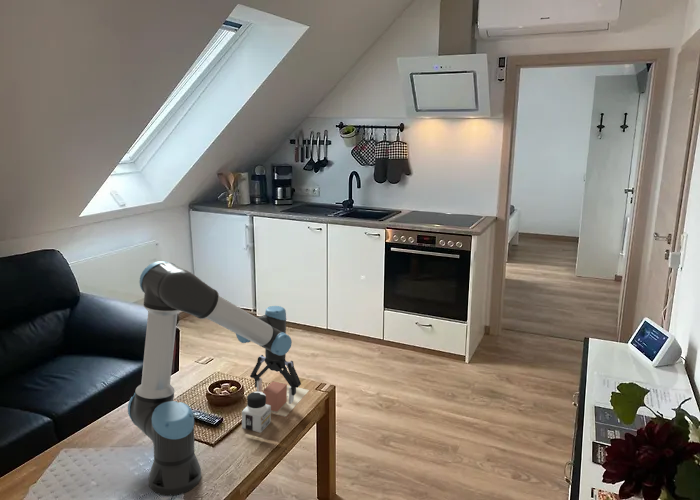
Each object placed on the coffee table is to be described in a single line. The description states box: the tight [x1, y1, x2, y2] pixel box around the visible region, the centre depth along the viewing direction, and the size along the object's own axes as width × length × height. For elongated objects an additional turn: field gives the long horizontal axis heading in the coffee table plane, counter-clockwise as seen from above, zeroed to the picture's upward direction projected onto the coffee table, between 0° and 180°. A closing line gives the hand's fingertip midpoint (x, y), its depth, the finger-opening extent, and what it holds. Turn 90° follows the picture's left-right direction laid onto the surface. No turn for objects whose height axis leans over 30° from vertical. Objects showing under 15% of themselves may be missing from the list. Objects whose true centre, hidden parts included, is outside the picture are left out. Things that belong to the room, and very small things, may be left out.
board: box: [271, 384, 310, 418], centre depth 211 cm, size 22×14×1 cm, turn 161°
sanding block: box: [262, 380, 288, 413], centre depth 204 cm, size 8×6×8 cm
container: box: [241, 391, 272, 433], centre depth 192 cm, size 8×8×13 cm
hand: (275, 398), depth 205 cm, fingers open, 13 cm apart
